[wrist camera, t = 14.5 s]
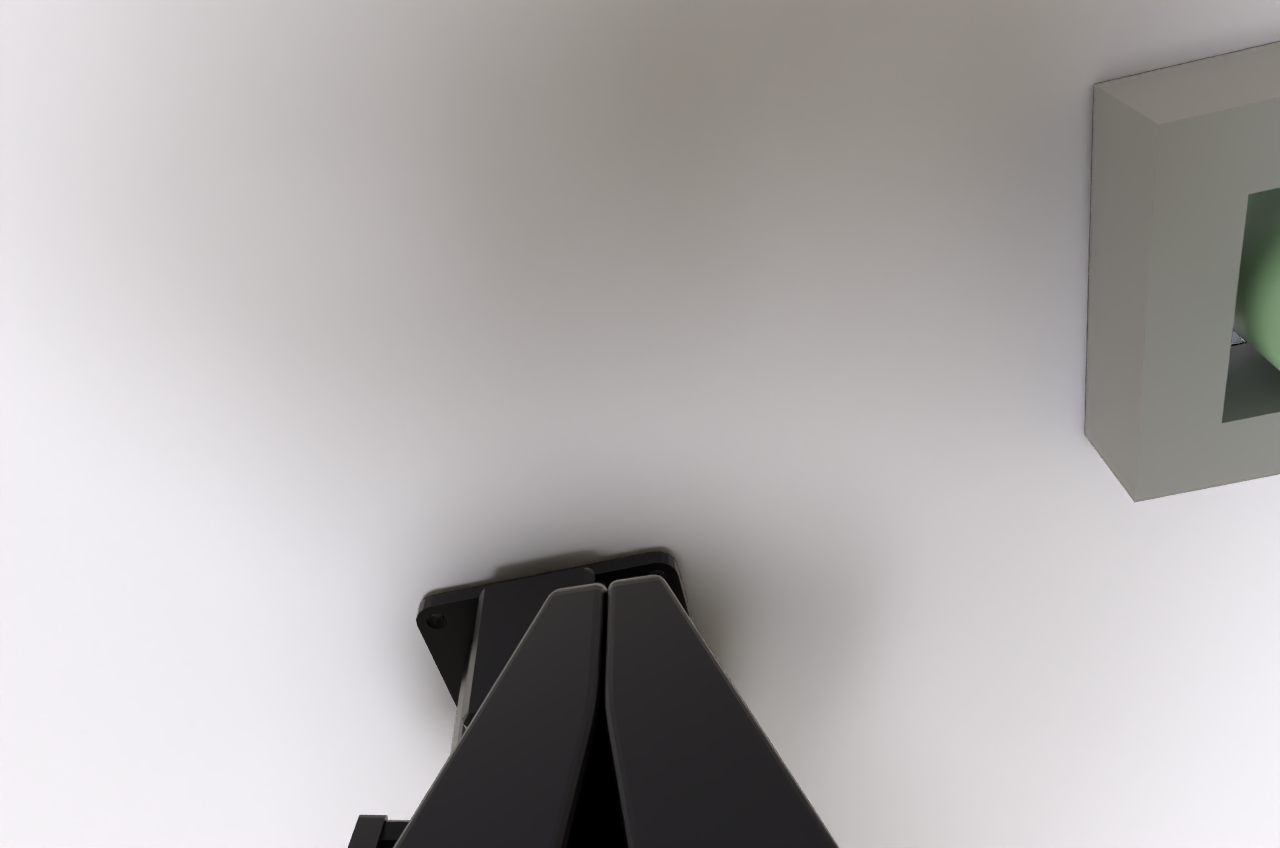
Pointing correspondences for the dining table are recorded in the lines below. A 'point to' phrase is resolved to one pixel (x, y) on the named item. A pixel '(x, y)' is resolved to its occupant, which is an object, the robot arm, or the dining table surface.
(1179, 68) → the button box
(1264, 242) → the button
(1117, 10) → the dining table surface
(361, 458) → the dining table surface
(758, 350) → the dining table surface
